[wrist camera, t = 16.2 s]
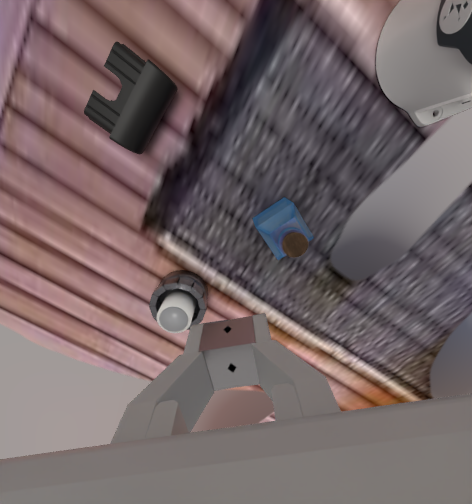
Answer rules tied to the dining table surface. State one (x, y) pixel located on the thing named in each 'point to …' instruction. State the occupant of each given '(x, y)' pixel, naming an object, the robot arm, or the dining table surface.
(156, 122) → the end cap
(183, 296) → the cap
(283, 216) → the perfume bottle
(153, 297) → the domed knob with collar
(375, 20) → the dining table surface
